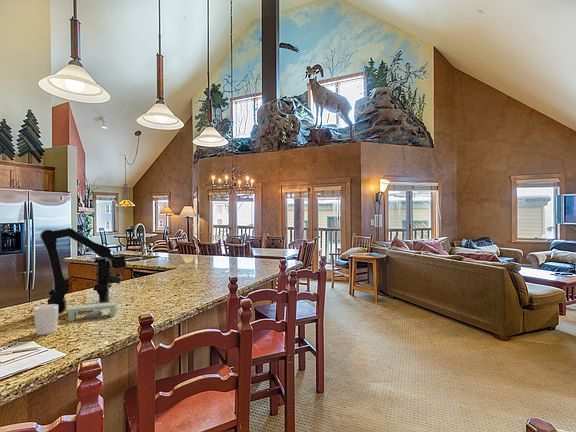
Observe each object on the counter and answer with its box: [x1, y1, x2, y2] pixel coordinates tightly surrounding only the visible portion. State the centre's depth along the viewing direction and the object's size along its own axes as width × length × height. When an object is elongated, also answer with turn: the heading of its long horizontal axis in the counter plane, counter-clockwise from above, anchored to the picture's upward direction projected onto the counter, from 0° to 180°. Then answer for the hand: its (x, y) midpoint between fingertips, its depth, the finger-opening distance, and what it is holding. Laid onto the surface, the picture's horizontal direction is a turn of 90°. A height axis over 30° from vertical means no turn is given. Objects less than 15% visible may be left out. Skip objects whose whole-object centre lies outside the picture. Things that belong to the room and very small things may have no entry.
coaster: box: [83, 311, 104, 320], centre depth 149 cm, size 6×6×2 cm
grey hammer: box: [92, 290, 110, 313], centre depth 164 cm, size 4×21×6 cm, turn 19°
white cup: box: [33, 303, 59, 336], centre depth 130 cm, size 8×8×10 cm
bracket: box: [67, 301, 118, 322], centre depth 149 cm, size 18×6×5 cm, turn 109°
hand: (104, 300), depth 172 cm, fingers closed on grey hammer, 4 cm apart
